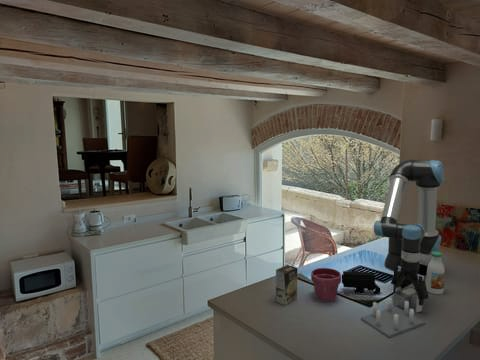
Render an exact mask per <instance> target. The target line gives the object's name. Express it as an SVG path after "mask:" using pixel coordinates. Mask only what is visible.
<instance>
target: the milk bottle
mask: <svg viewBox="0 0 480 360" xmlns="http://www.w3.org/2000/svg"><path fill="white" fill-rule="evenodd" d="M430 256H431V260H430V261H429V262H428V264H427V269H426V278H425V284H426V288H427V293H431V294H433V295H442V294H443V293H444V290H445V273H446V271H445V265H444V264H443V261H442V258H443V253H442V252H440V251H438V252H432V253H431V255H430Z"/></svg>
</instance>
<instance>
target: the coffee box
mask: <svg viewBox="0 0 480 360" xmlns="http://www.w3.org/2000/svg"><path fill="white" fill-rule="evenodd" d="M297 300H298V267H296V266H293V265H290V264H289V265H288V264H287V265H284V266H281V267H278V268H277V269H275V302H277V303H279V304H282V305H285V306H287V305H289V304H291V303H293V302H295V301H297Z"/></svg>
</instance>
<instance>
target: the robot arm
mask: <svg viewBox="0 0 480 360" xmlns="http://www.w3.org/2000/svg"><path fill="white" fill-rule="evenodd" d="M388 181H389V186H388V190H387V195H386V197H385V202H384V206H383V208H382V209H383V210H382V214H381V216H380V220H375V221H374V224H373V233H374V235H375V236H377V237H381V238H388V251H387V255H386V257H385V260H384V267H385V268H387V269H389V270H391V271H394V273H393V276H392V279H391V281H390V284H391V285H393V287H394V289H393V290H394V292H397V291H400V290H402V287H401V285H402V284H403V282H404V281H405V280H408V281H410V282H411V284H412V285H413V287H414V288H415V290H416V293H417V295H418V298H417V302H416V308H415V312H416V313H420V312H422V311H423V306H424V300H426V299H429V292H428V291H427V288H426V276H425V275H421V274H419V273H420V272H419V270H420V260H421V254H422V255H426V256H432V255H431V253H432V252H440V246H441V243H442V242H441V241H442V235H440V234H439V231H438V230H437V229H436V225H437V223H436V222H437V220H436V219H437V198H438V197H437V192H438V191H437V190H438V188H440V187H441V184H443V183H444V181H445V171H444V165H443V163H442V162H441V161H440V160H433V159H407V160H403V161H402V162H400V163H398V164H397V165H395V167H394V168H393V169H392V171H391V172H390V174H389V179H388ZM409 182H415V186H416V187H417V188H418V201H417V202H418V204H417V205H418V206H417V208H418V211H417V212H418V213H417V223H412V224H406V223H400V222H399V223H398V220H399V216H400V212H401V207H402V203H403V199H404V193H405V189H406V186H408V184H409ZM394 292H393V293H394ZM422 305H423V306H422Z"/></svg>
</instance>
